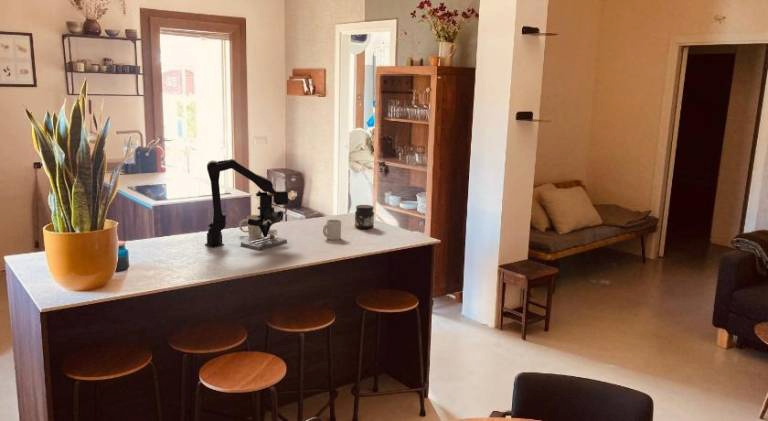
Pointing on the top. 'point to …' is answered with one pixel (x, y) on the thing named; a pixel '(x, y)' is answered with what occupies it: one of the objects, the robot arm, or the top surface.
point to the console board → (263, 242)
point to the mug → (251, 227)
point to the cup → (332, 229)
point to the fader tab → (272, 233)
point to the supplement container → (364, 217)
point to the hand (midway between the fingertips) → (265, 236)
